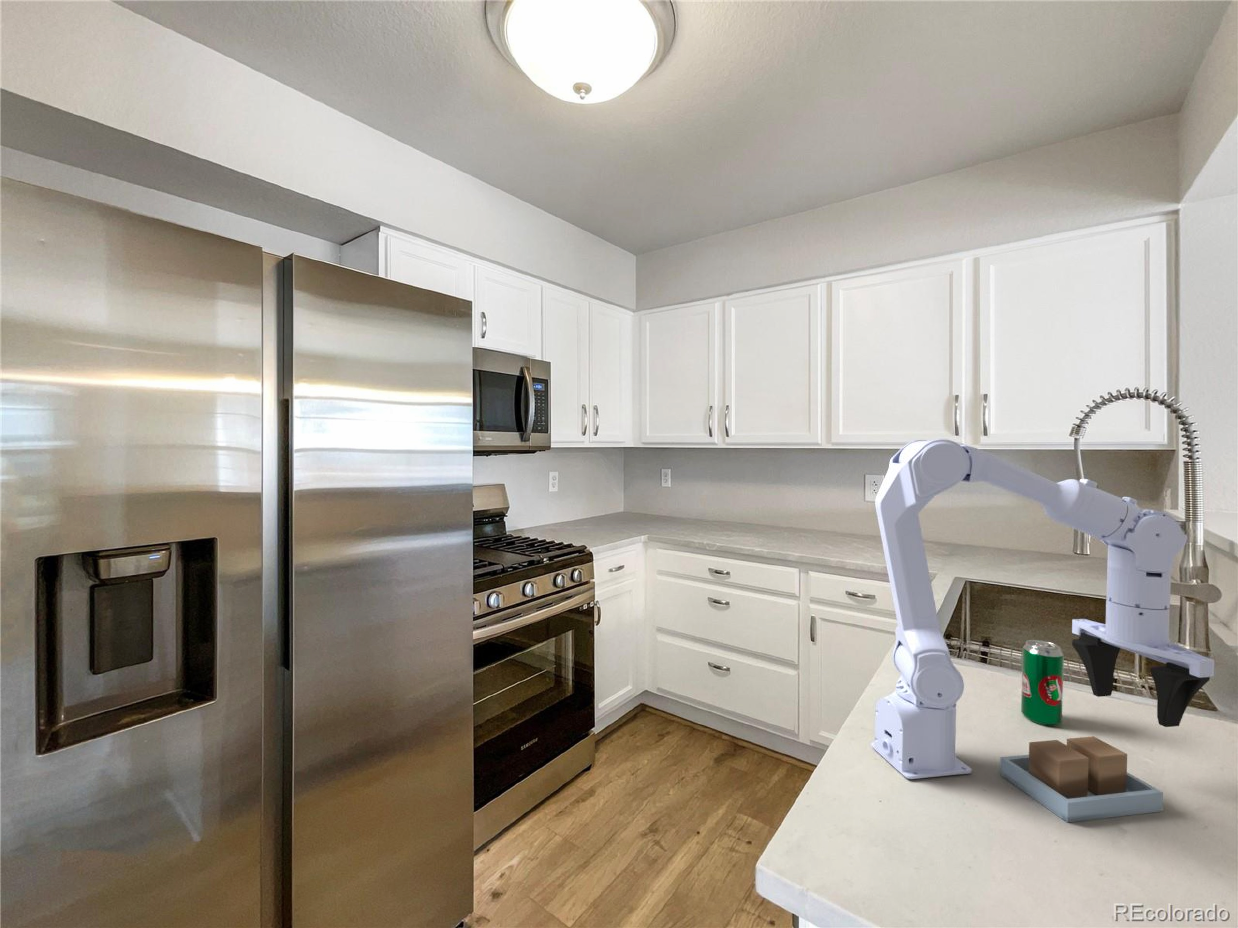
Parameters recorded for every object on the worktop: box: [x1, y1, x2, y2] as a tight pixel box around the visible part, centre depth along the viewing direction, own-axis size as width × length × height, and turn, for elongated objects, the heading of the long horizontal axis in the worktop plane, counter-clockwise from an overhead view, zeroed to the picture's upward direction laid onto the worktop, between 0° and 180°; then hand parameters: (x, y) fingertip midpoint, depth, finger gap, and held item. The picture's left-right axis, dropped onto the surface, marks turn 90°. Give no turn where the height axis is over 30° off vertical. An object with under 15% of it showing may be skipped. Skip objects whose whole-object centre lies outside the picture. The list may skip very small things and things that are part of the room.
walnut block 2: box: [1066, 735, 1128, 796], centre depth 66 cm, size 4×4×5 cm
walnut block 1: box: [1028, 739, 1089, 799], centre depth 66 cm, size 4×4×5 cm
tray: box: [999, 754, 1164, 823], centre depth 66 cm, size 13×9×2 cm
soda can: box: [1020, 639, 1065, 727], centre depth 84 cm, size 5×5×12 cm
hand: (1133, 709), depth 67 cm, fingers open, 7 cm apart
